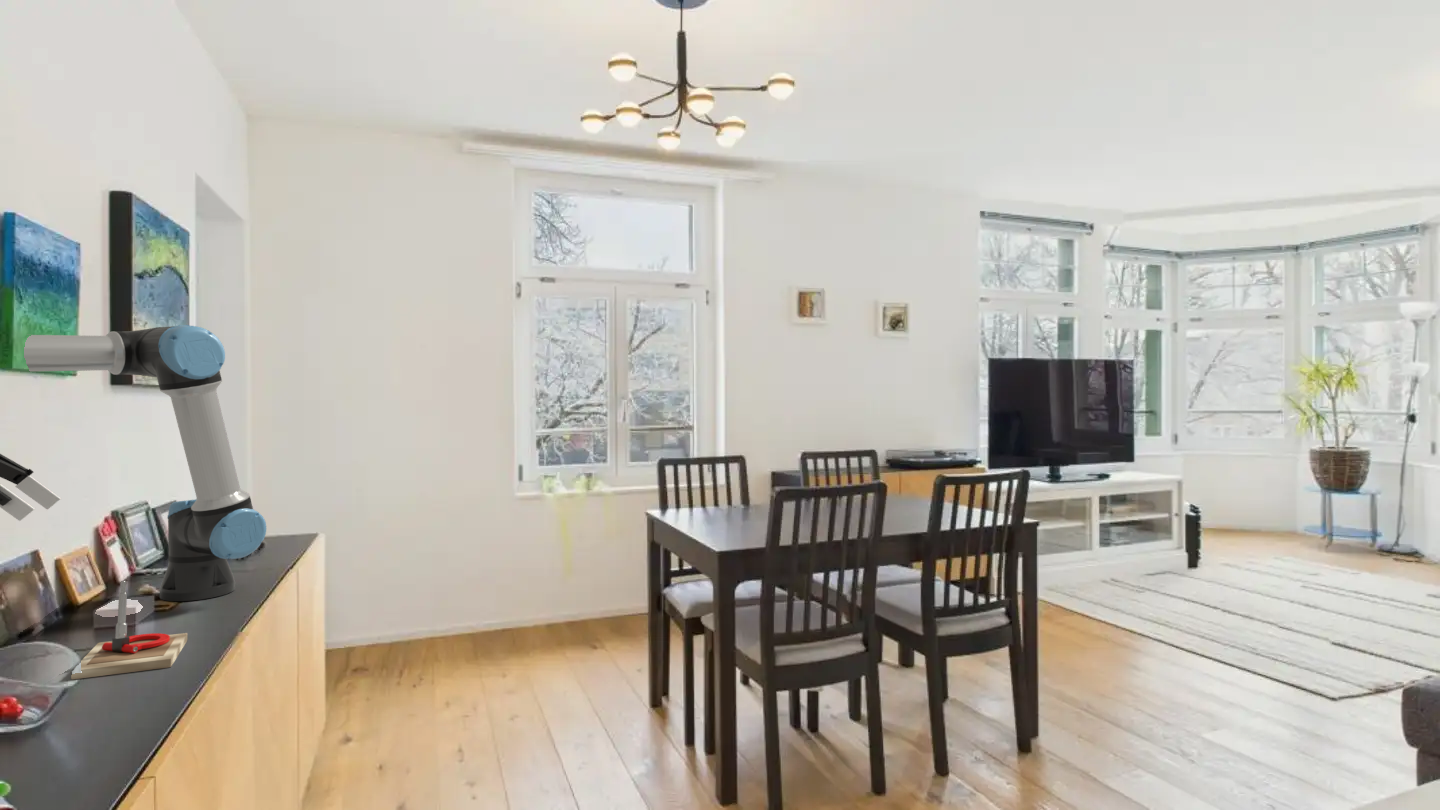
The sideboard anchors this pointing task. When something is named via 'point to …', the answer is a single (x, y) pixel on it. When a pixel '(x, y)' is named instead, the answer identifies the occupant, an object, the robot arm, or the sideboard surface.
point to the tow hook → (121, 639)
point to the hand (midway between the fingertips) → (41, 509)
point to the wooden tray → (130, 658)
